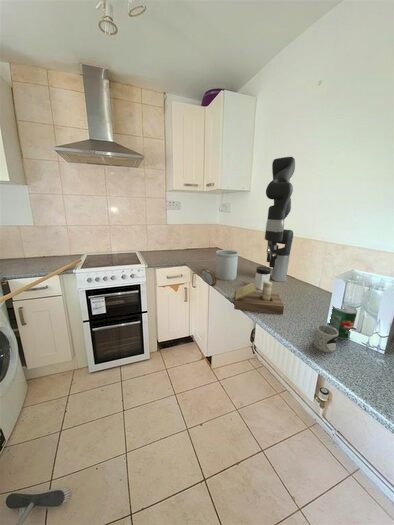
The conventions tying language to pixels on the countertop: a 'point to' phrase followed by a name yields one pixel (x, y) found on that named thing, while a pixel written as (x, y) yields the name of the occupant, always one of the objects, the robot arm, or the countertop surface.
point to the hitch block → (259, 303)
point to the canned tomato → (342, 321)
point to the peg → (266, 291)
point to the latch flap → (245, 291)
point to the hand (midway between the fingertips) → (270, 264)
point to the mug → (325, 338)
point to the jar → (262, 276)
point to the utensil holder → (226, 264)
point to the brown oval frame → (209, 277)
